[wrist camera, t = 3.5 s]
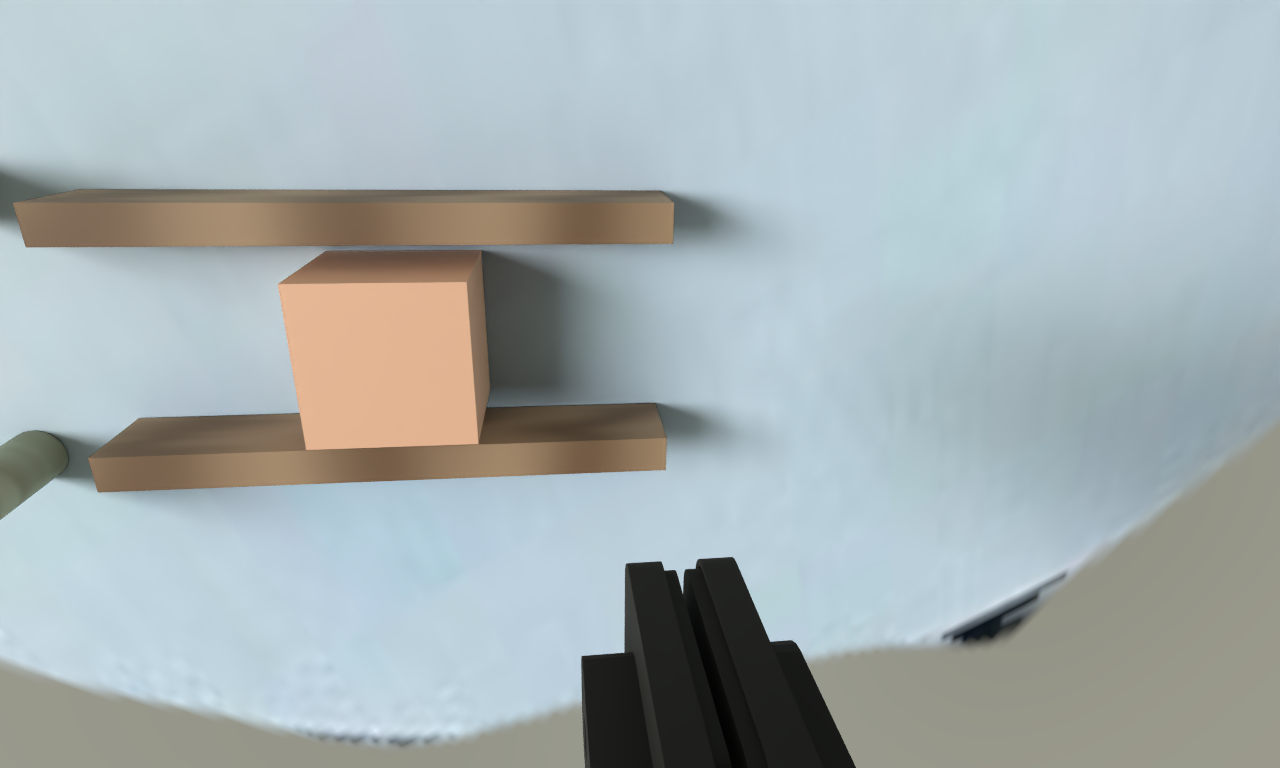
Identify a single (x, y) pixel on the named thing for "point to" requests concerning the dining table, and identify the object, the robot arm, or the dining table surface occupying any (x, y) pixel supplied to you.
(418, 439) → the block
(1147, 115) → the dining table surface
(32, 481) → the chute
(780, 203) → the dining table surface
